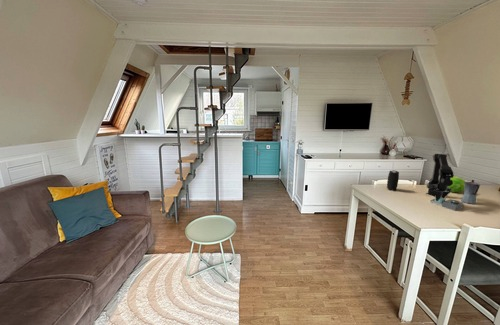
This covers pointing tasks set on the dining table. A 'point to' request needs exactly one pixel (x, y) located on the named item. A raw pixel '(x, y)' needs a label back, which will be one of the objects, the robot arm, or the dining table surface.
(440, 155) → the robot arm
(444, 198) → the mint block with knob
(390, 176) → the portable speaker
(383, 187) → the dining table surface
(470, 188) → the moka pot
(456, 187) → the lettuce
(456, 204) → the square frame
